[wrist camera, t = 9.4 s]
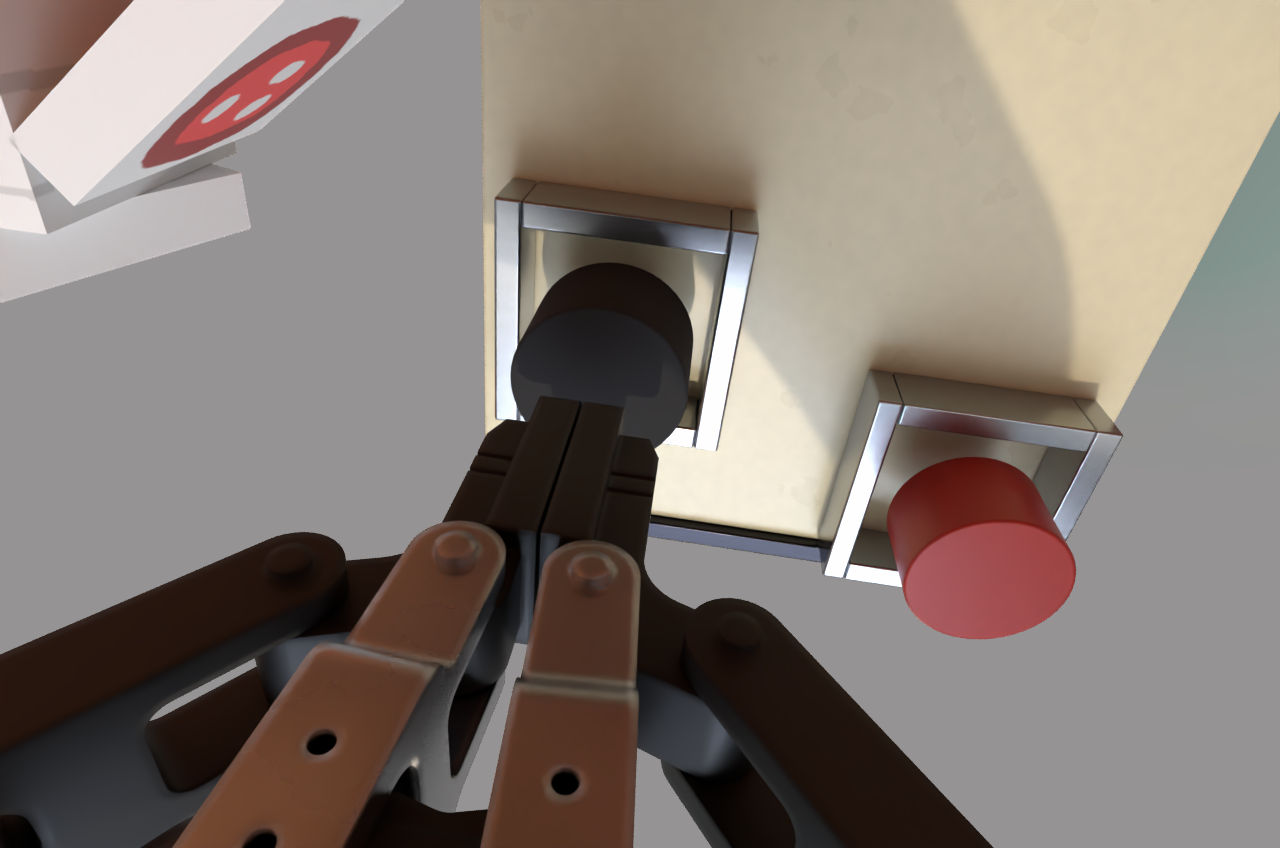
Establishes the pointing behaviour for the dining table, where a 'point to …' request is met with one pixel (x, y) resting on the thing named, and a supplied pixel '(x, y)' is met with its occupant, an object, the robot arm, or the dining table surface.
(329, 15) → the pizza boxes
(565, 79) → the control box
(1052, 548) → the red button
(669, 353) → the black button
